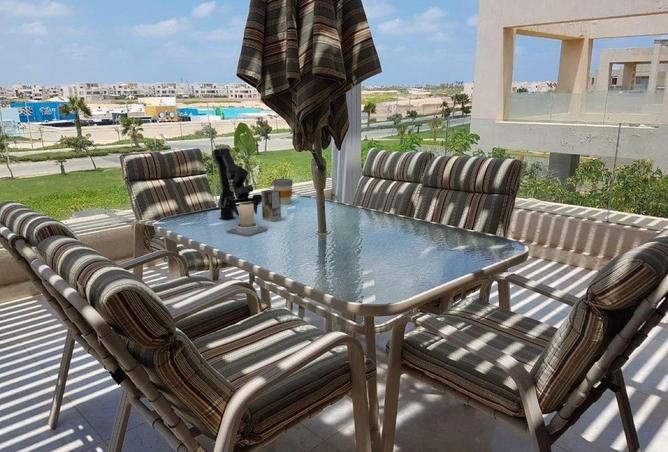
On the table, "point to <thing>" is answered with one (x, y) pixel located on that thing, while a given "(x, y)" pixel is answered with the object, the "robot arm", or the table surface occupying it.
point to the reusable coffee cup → (283, 189)
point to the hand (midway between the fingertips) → (247, 214)
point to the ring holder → (246, 230)
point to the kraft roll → (246, 214)
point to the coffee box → (271, 205)
